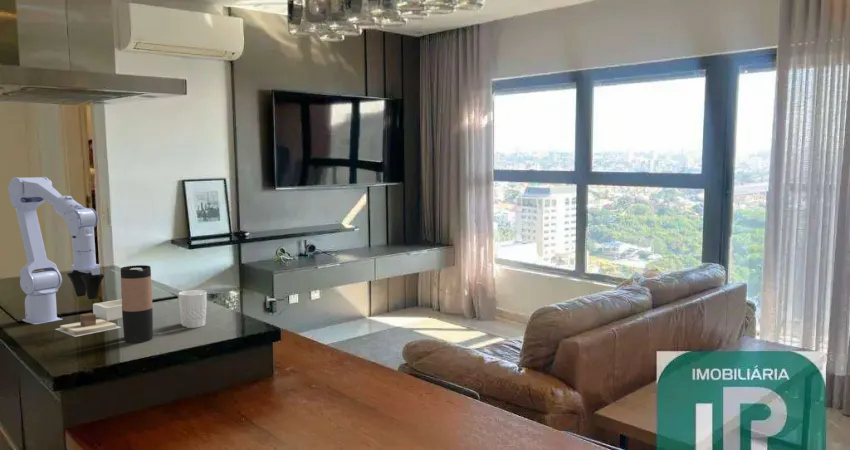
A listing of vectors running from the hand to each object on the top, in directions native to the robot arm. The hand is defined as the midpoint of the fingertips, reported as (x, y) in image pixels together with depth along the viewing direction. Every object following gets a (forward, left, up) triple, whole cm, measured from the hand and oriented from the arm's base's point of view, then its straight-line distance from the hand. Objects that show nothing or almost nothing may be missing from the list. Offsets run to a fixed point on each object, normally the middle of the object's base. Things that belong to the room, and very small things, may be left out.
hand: (86, 297), depth 184 cm
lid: (0, 0, -9) cm, 9 cm away
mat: (0, 0, -10) cm, 10 cm away
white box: (-9, +12, -10) cm, 18 cm away
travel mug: (+21, +4, -10) cm, 23 cm away
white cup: (+19, +22, -10) cm, 31 cm away
